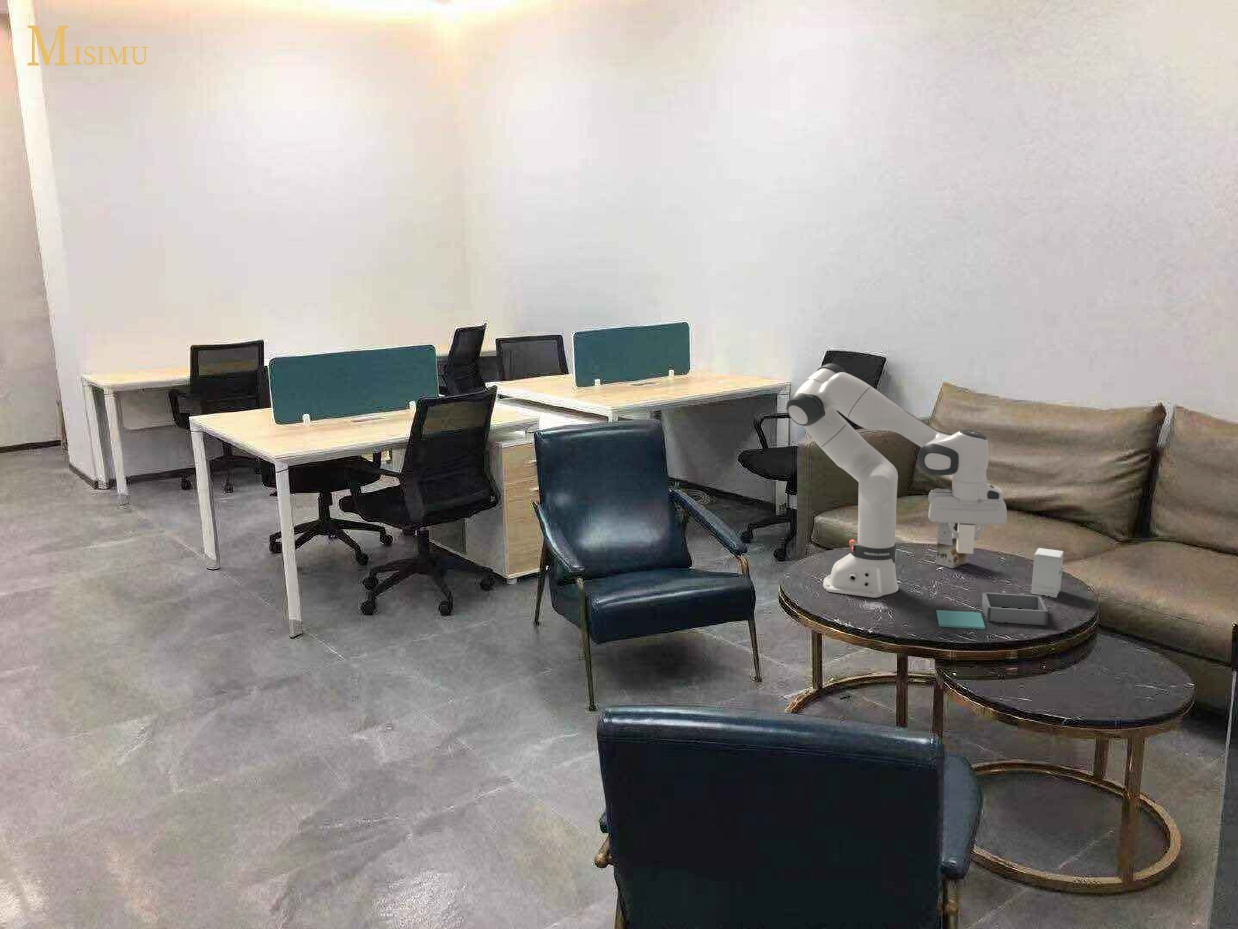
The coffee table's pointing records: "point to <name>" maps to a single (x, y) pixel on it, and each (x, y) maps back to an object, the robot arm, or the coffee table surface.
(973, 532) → the block
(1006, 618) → the crate
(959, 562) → the coffee box
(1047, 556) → the supplement box
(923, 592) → the coffee table surface
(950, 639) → the coffee table surface
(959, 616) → the mat
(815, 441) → the robot arm
